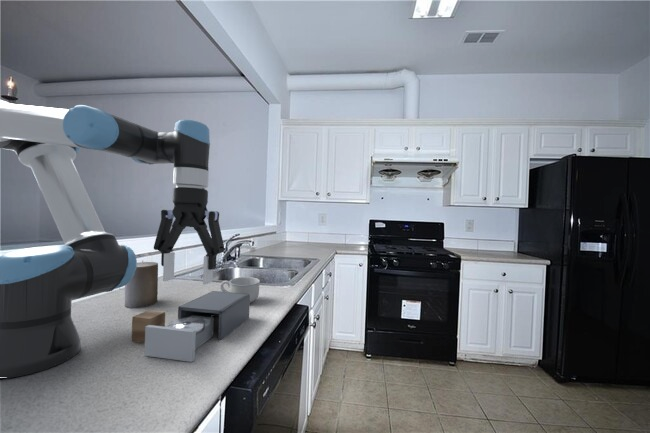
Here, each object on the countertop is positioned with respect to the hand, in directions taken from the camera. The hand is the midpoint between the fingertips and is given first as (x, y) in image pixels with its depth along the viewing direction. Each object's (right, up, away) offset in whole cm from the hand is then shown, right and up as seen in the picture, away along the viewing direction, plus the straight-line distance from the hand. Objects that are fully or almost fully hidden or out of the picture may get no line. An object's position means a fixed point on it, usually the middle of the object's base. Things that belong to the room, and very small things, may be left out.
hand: (187, 281), depth 66 cm
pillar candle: (-31, -15, +30) cm, 46 cm away
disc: (0, -12, 0) cm, 12 cm away
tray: (0, -15, 0) cm, 16 cm away
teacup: (+1, -16, +36) cm, 39 cm away
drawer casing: (+2, -16, +13) cm, 20 cm away
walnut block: (-12, -15, +4) cm, 20 cm away
